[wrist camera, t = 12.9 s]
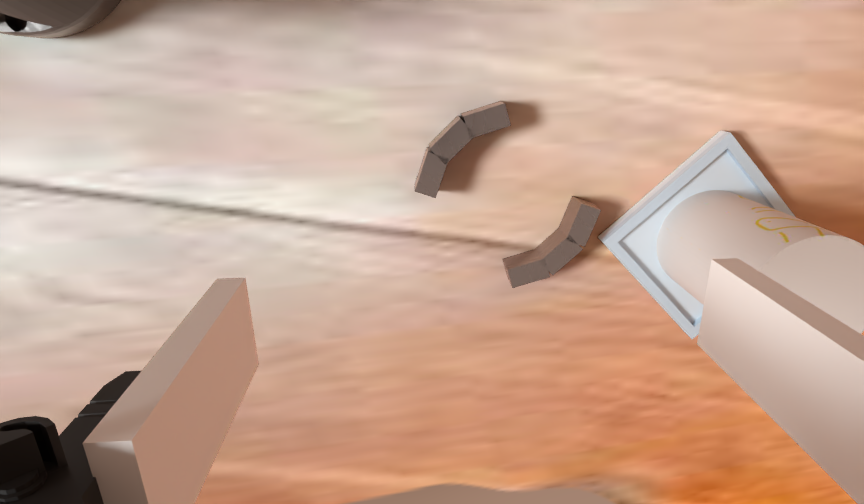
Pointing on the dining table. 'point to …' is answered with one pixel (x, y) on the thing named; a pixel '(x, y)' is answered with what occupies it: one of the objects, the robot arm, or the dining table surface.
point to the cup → (763, 251)
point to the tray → (640, 225)
